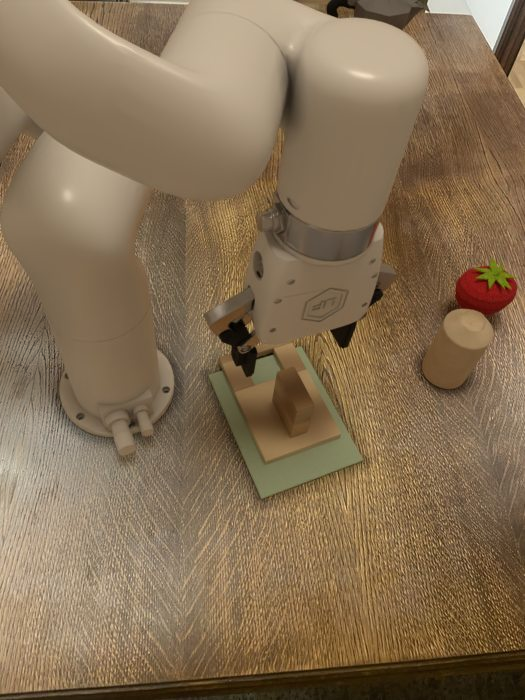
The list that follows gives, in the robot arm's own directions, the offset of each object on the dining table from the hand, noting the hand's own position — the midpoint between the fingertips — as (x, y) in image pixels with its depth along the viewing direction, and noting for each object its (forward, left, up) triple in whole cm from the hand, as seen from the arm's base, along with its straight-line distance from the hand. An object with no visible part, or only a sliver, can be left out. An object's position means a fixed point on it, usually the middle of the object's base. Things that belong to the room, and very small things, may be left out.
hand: (291, 349), depth 57 cm
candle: (-1, -22, -14) cm, 26 cm away
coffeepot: (+55, -40, -14) cm, 69 cm away
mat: (0, -1, -14) cm, 14 cm away
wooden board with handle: (+2, -1, -13) cm, 13 cm away
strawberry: (+5, -30, -14) cm, 33 cm away
